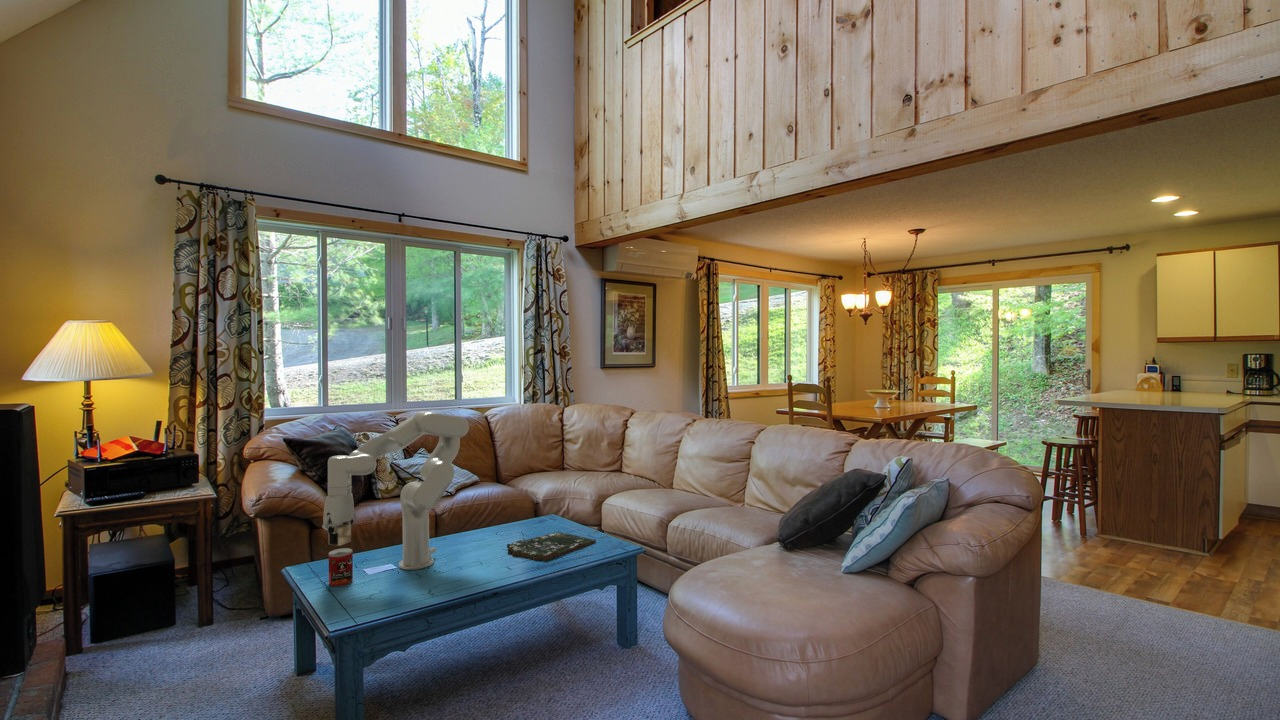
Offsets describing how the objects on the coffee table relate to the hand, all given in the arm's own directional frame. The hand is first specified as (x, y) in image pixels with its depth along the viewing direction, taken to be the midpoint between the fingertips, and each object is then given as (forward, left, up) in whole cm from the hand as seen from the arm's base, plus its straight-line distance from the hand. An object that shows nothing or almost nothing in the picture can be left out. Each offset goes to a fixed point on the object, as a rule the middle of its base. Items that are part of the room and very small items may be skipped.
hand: (339, 541), depth 214 cm
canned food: (0, 0, -15) cm, 15 cm away
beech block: (0, 0, -1) cm, 1 cm away
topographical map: (-56, +53, -15) cm, 79 cm away
